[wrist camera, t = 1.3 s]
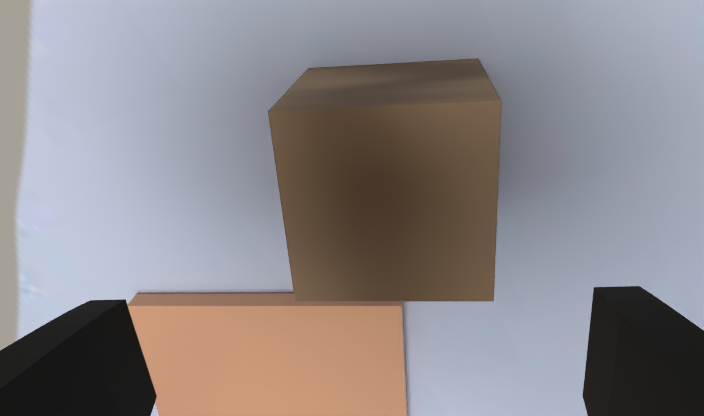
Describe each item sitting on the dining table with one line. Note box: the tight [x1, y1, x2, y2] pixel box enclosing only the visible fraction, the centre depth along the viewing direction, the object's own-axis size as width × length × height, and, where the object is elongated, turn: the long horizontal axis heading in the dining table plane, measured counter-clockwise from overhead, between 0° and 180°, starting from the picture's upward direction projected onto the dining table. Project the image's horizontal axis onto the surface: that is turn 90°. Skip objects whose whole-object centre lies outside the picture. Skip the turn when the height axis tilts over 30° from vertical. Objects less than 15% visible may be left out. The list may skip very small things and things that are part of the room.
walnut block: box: [268, 59, 501, 301], centre depth 15 cm, size 5×5×5 cm
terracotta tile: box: [127, 293, 407, 416], centre depth 22 cm, size 10×10×1 cm
